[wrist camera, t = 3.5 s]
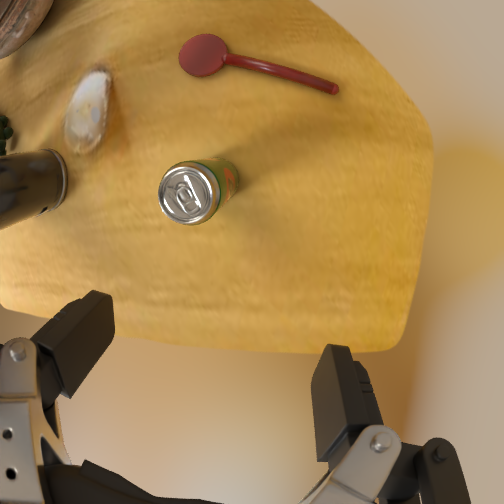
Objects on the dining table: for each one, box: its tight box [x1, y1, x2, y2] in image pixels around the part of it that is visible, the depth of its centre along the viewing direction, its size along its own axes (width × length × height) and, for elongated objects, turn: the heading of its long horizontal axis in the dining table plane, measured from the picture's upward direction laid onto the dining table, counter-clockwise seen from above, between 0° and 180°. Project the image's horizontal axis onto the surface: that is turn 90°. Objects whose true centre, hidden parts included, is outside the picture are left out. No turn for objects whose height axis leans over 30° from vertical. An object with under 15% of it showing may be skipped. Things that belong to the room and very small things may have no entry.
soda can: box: [158, 158, 239, 225], centre depth 26 cm, size 5×5×12 cm
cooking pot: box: [0, 0, 54, 59], centre depth 17 cm, size 25×19×12 cm
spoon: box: [179, 34, 339, 95], centre depth 26 cm, size 18×6×1 cm, turn 73°
